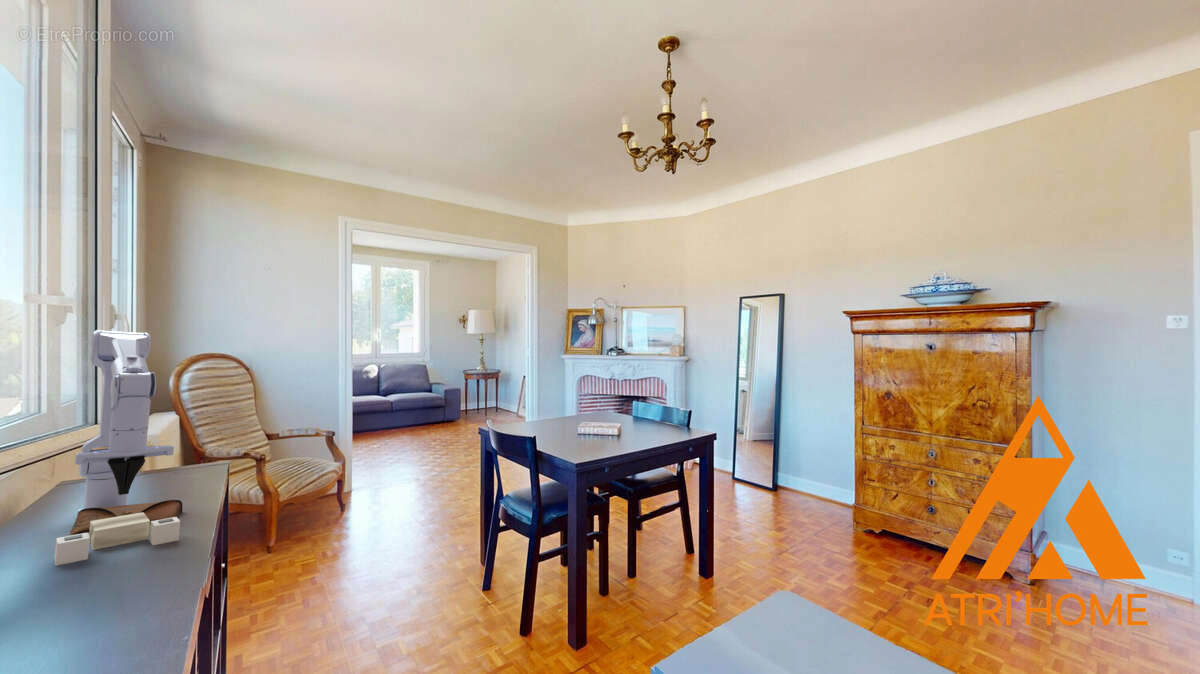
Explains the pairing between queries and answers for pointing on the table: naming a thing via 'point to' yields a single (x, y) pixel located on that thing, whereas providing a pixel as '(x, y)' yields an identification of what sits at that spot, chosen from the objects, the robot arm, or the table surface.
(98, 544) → the plain birch block
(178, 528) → the cream block marked 2
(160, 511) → the sunglasses case
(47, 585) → the table surface
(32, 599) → the table surface
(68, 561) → the cream block marked 1
